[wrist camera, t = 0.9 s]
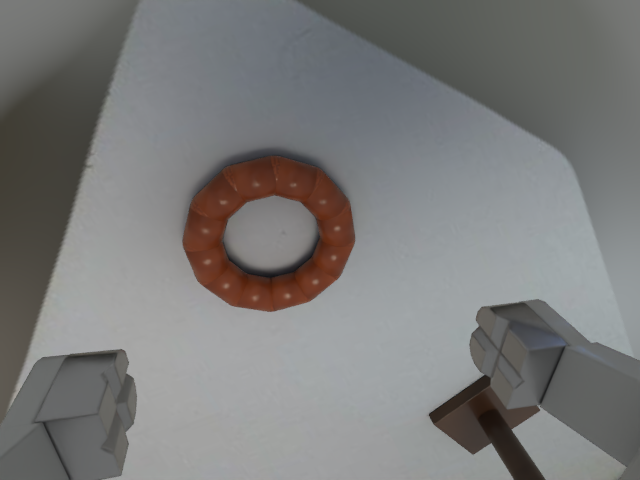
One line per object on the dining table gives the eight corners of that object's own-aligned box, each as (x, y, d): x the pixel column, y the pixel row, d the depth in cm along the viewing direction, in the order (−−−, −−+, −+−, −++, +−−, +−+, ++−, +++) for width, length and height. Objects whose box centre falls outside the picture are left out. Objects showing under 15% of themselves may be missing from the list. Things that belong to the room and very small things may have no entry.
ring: (273, 115, 24) (278, 124, 22) (378, 229, 30) (389, 245, 28) (149, 233, 26) (143, 252, 24) (268, 320, 32) (271, 341, 30)
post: (499, 364, 40) (606, 500, 29) (533, 401, 45) (637, 532, 33) (428, 414, 42) (502, 561, 31) (467, 445, 46) (545, 583, 35)
